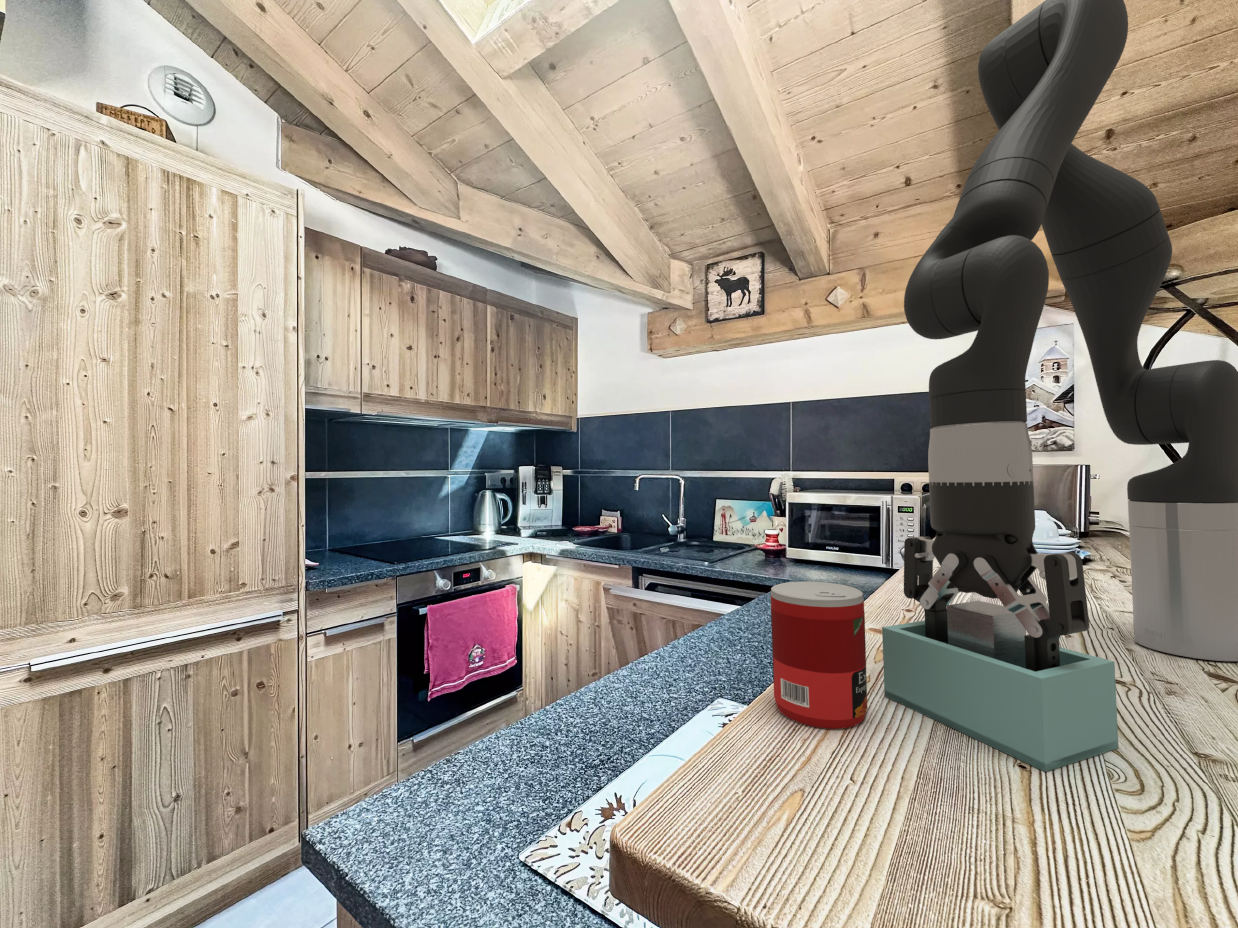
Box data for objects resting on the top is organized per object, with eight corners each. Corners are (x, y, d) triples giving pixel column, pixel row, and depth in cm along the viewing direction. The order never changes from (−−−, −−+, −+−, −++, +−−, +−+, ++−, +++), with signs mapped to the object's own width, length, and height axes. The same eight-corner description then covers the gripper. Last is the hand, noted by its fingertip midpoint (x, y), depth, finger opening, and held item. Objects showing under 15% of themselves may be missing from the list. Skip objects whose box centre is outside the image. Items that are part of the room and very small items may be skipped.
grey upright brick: (981, 699, 48) (977, 600, 48) (1029, 718, 44) (1024, 610, 44) (950, 707, 46) (946, 605, 47) (997, 727, 43) (992, 616, 43)
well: (948, 682, 53) (945, 616, 53) (1118, 748, 40) (1114, 661, 40) (884, 695, 50) (882, 627, 51) (1045, 771, 37) (1041, 678, 37)
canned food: (878, 734, 43) (874, 600, 43) (778, 727, 45) (774, 598, 45) (856, 695, 51) (852, 581, 51) (770, 690, 52) (767, 580, 53)
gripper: (1103, 476, 40) (1113, 688, 40) (935, 477, 54) (942, 636, 53) (1039, 478, 38) (1048, 705, 37) (879, 479, 51) (885, 645, 51)
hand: (986, 664), depth 45 cm, fingers open, 8 cm apart
